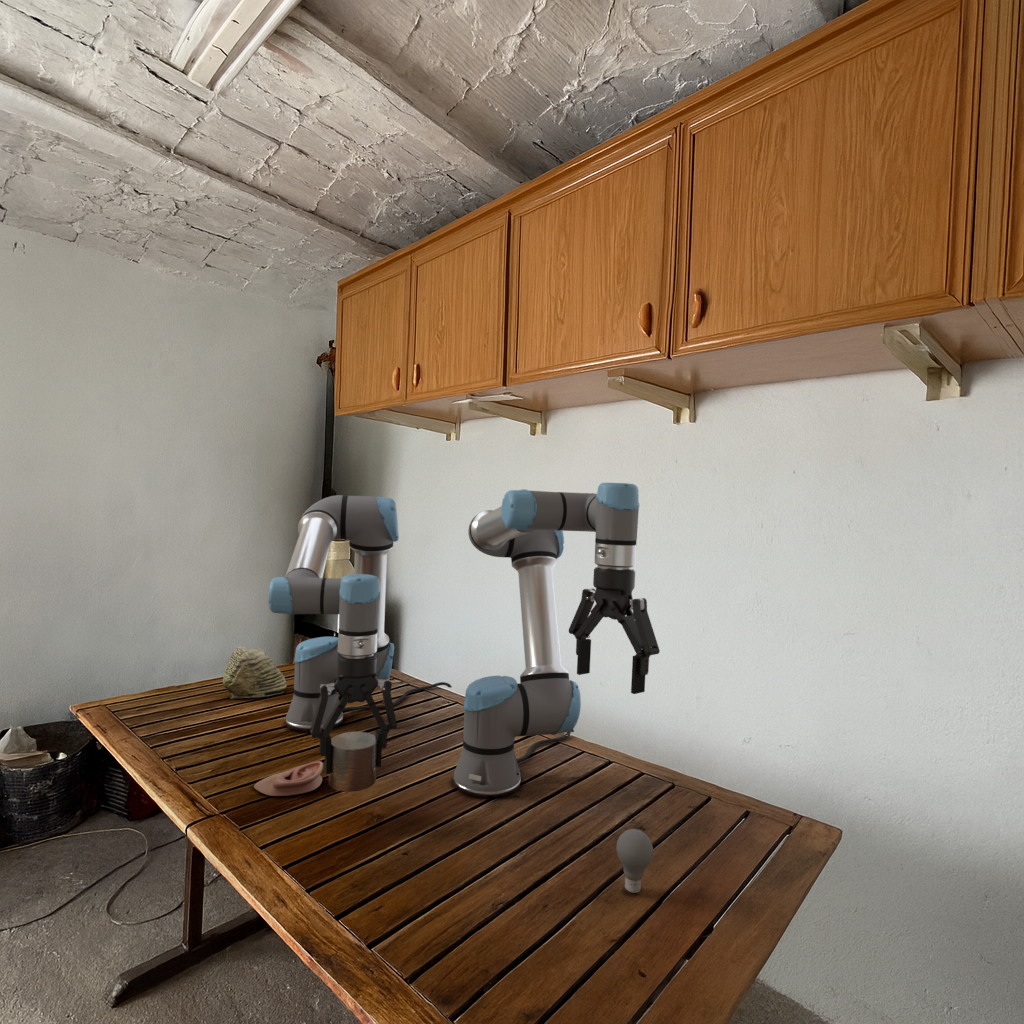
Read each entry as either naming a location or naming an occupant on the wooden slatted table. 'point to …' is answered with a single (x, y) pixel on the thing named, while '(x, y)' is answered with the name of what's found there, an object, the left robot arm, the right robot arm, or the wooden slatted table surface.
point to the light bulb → (634, 857)
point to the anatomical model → (292, 781)
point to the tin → (353, 761)
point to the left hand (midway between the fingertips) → (352, 767)
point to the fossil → (252, 674)
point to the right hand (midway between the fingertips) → (609, 682)
